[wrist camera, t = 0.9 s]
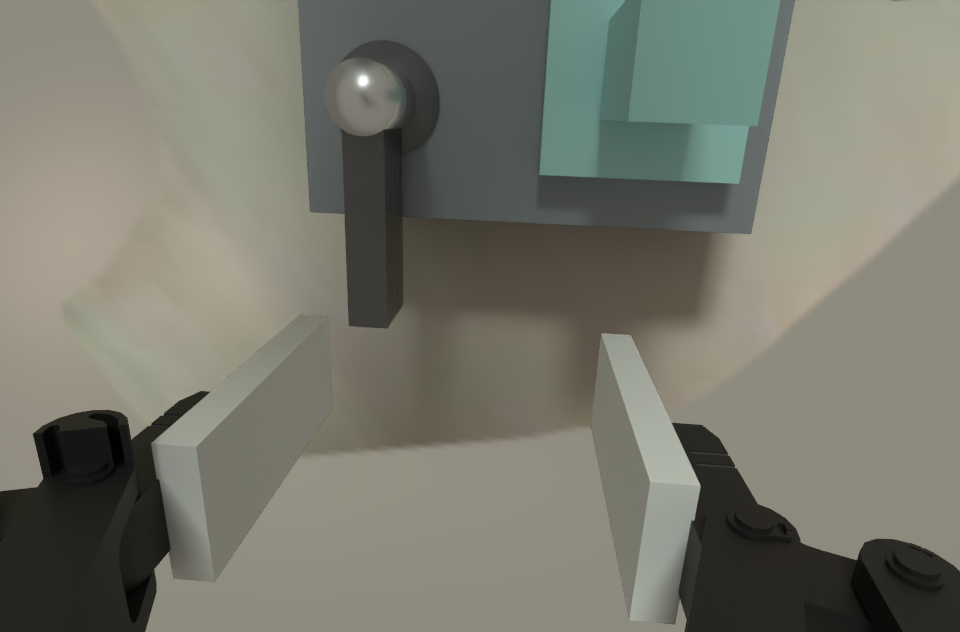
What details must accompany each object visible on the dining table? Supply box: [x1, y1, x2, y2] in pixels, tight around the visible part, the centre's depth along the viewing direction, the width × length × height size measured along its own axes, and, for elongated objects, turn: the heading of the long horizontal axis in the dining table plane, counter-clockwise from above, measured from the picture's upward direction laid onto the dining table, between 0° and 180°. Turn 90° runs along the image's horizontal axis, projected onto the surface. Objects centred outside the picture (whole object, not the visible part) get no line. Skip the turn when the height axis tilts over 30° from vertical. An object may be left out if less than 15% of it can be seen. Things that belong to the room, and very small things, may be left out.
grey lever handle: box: [324, 58, 416, 328], centre depth 27 cm, size 12×3×4 cm, turn 178°
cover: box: [539, 0, 780, 184], centre depth 22 cm, size 9×9×10 cm
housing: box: [298, 0, 795, 234], centre depth 30 cm, size 14×22×6 cm, turn 88°
